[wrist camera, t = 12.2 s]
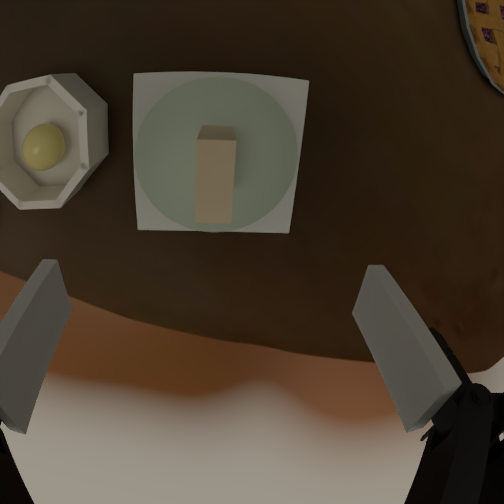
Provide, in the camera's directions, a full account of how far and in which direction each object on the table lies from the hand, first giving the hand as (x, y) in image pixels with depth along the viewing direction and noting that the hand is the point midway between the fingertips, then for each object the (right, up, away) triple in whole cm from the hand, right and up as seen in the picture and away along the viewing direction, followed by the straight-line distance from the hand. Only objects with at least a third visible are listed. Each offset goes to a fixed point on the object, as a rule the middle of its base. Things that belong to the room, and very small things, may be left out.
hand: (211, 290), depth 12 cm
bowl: (-21, +15, +16) cm, 30 cm away
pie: (+38, +34, +12) cm, 52 cm away
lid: (-2, +12, +19) cm, 23 cm away
